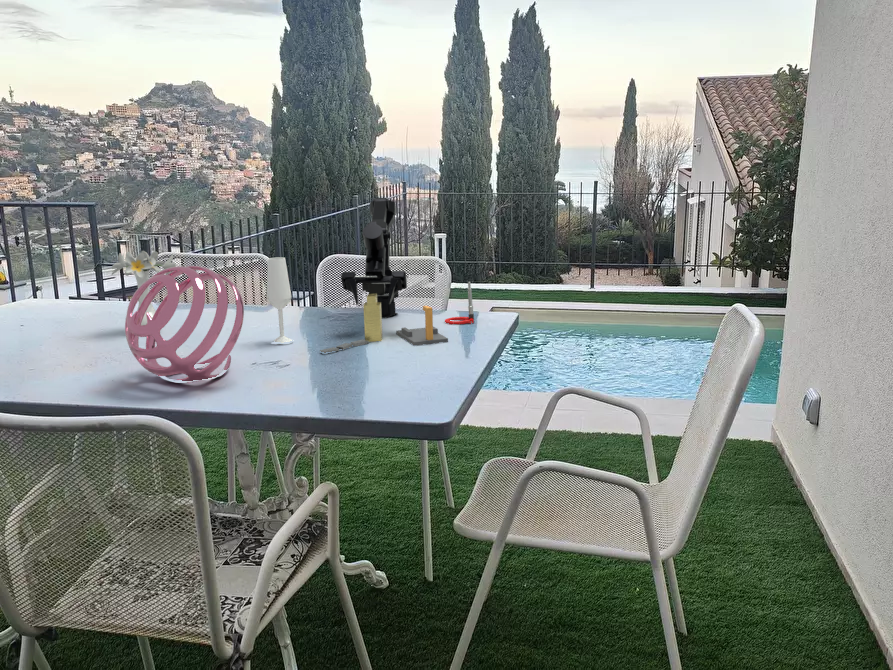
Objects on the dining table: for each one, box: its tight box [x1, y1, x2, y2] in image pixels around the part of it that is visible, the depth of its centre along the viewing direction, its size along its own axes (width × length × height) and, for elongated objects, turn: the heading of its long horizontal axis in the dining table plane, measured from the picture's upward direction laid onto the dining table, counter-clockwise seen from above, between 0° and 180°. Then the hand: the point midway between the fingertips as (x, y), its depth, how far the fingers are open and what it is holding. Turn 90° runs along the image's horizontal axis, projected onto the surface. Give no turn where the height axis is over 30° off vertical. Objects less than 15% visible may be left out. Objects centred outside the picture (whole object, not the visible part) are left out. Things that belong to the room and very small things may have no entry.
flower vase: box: [111, 250, 177, 325], centre depth 218 cm, size 13×18×25 cm
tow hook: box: [444, 281, 475, 325], centre depth 226 cm, size 8×13×9 cm
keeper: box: [395, 305, 449, 346], centre depth 206 cm, size 16×10×10 cm, turn 22°
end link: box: [363, 293, 383, 343], centre depth 204 cm, size 4×4×13 cm
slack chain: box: [319, 338, 369, 353], centre depth 196 cm, size 4×16×1 cm, turn 144°
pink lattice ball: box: [124, 265, 245, 381], centre depth 169 cm, size 28×28×27 cm
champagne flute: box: [266, 256, 293, 343], centre depth 202 cm, size 7×7×24 cm
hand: (373, 304), depth 205 cm, fingers open, 9 cm apart
